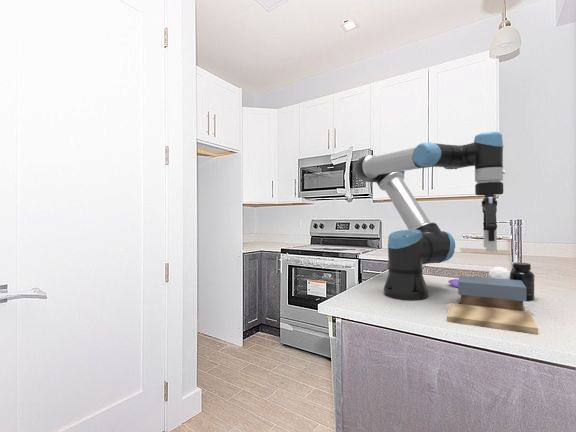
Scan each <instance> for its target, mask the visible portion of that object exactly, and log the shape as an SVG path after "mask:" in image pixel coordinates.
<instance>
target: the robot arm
mask: <svg viewBox="0 0 576 432" xmlns="http://www.w3.org/2000/svg"><path fill="white" fill-rule="evenodd" d="M473 139H474V140H473V142H471V143H466V144H461V145H456V144H446V143H445V144H443V143H436V142H430V141H429V142H421V143H418V144H417V146H415V147H412V148H408V149H402V150H398V151H393V152H389V153H385V154H381V155H377V156H376V155H373V154H370V155H365V156H362V157H359V158H358V159H357V161H356V162H355V164H354V173H355V176H356V177H357V178H358V179H359V180H360V181H362V182H364V183H376V185H378V187H379V189H380V190H381V191H384V192H386V194H387V196H388V197H389V199H390V201H391V202H392V204H393V206H394V208H395V210H396V211H397V213H398V214H399V216H400V218H401V219H402V221H403V223H404V224H405V226H406V228H407V229H402V230H397V231H393V232H391V233H390V234H389V235H388V240H387V254H388V274H387V277H386V280H385V283H384V286H383V294H384V296H386V297H389V298H393V299H397V300H406V301H407V300H408V301H417V300H424V299H426V298H428V297H429V289H428V287H427V284H426V282H425V278H424V275H423V265H428V264H441V263H442V262H443V263H445V262H447V261H449V260H450V259H452V257H453V256H454V254H455V250H456V242H455V239H454V236H452V234H451V233H450V232H447V231H444V230H441V229H440V227H439V225H438V224H437V223H436V222H434V221H430V219H429V217H428V216H427V215H426V213H425V212H424V210H423V209H422V207H421V206H420V204H419V202H418V200H417V199H416V197H415V196H414V195H413V193H412V192H411V190H410V188H409V187H408V185H407V184H406V182H405V181H404V179H405V172H406V171H412V170H419V169H428V168H434V167H435V168H444V169H445V170H457V169H462V168H468V167H474V182H475V183H476V184H475V186H474V189H475V190H474V194H475V195H476V196H484V198H483V199H482V201H481V207H482V213H483V223H482V226H483V229H482V230H483V248H485V252H486V253H497V252H498V250H497V248H498V246H497V243H498V241H497V236H498V235H497V234H498V233H497V232H498V231H497V230H498V224H497V212H498V211H497V209H498V208H497V206H498V200H497V198H496V197H495V196H497V195H499V196H500V195H503V194H504V183H503V182H502V181H504V174H506V170H503V169H504V165H503V164H504V162H503V161H504V159H503V158H504V155H503V154H504V152H503V151H504V143H503V134H502V133H501V132H499V131H487V132H481V133H478V134H476V135H475V136H474V138H473Z"/></svg>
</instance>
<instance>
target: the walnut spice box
mask: <svg viewBox="0 0 576 432" xmlns="http://www.w3.org/2000/svg"><path fill="white" fill-rule="evenodd" d="M460 304H464V305H472V306H481V307H490V308H499V309H508V310H516V311H524V301H518V300H508V299H498V298H488V297H478V296H468V295H460Z"/></svg>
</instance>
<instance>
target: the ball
mask: <svg viewBox="0 0 576 432" xmlns="http://www.w3.org/2000/svg"><path fill="white" fill-rule="evenodd" d="M510 272H511V271H510V270H509V269H508V268H507V267H503V266H494V267H493V268H491V269H489V272H488V278H496V279H509V280H510Z"/></svg>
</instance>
